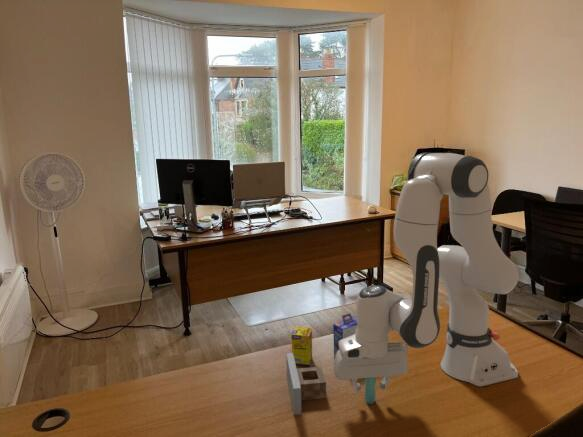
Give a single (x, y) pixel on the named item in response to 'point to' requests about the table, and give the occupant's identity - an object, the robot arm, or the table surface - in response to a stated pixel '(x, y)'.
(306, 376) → the block
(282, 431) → the table surface
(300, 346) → the supplement box
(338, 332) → the ink cartridge box
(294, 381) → the wall
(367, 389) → the dowel
